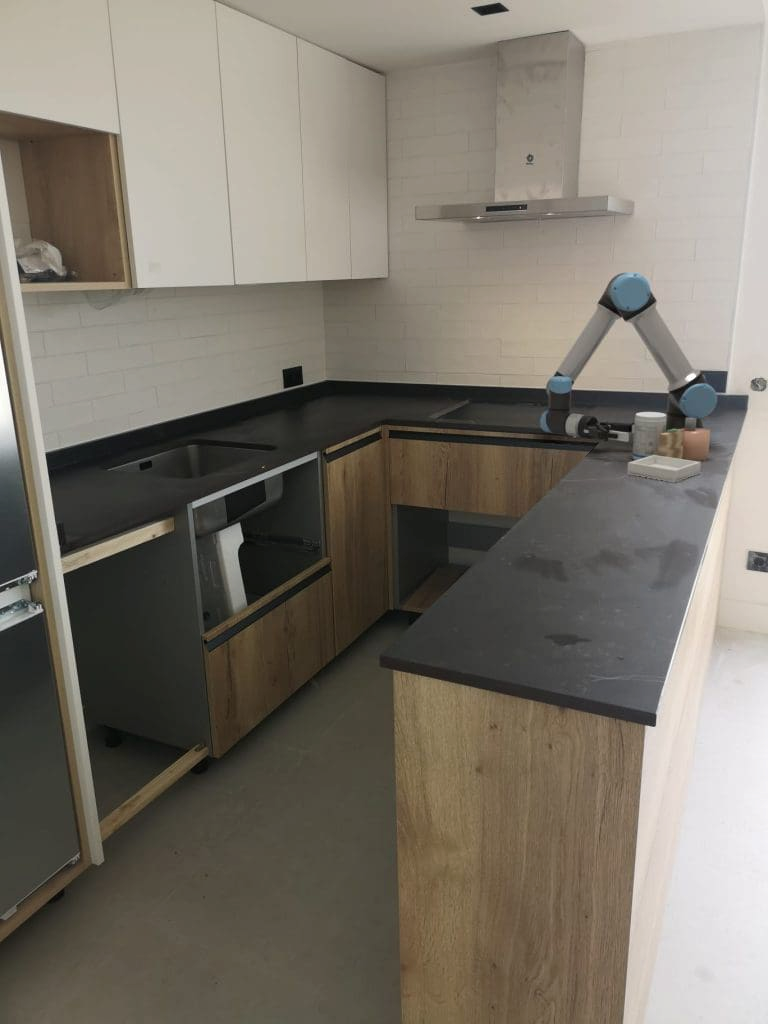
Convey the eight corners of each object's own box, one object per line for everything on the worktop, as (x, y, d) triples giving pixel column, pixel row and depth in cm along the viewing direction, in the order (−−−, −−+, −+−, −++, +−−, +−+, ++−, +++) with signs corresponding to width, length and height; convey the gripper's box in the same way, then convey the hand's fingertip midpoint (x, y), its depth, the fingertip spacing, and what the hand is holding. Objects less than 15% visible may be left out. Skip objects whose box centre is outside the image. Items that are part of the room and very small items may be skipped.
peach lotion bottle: (686, 453, 264) (689, 414, 260) (712, 457, 257) (716, 417, 254) (672, 458, 258) (676, 418, 254) (699, 462, 251) (703, 421, 248)
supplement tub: (647, 455, 262) (650, 410, 258) (670, 460, 254) (674, 414, 250) (625, 459, 258) (628, 413, 254) (648, 464, 250) (651, 417, 246)
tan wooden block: (676, 459, 255) (678, 426, 252) (681, 460, 254) (685, 427, 251) (656, 466, 248) (659, 432, 245) (662, 467, 246) (665, 433, 243)
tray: (653, 465, 248) (653, 454, 247) (699, 473, 237) (700, 462, 236) (627, 474, 238) (627, 462, 237) (674, 482, 228) (675, 470, 227)
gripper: (602, 432, 280) (658, 440, 265) (560, 442, 264) (617, 451, 249) (603, 410, 278) (660, 417, 263) (561, 419, 261) (619, 427, 246)
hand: (639, 434), depth 256 cm, fingers open, 13 cm apart
